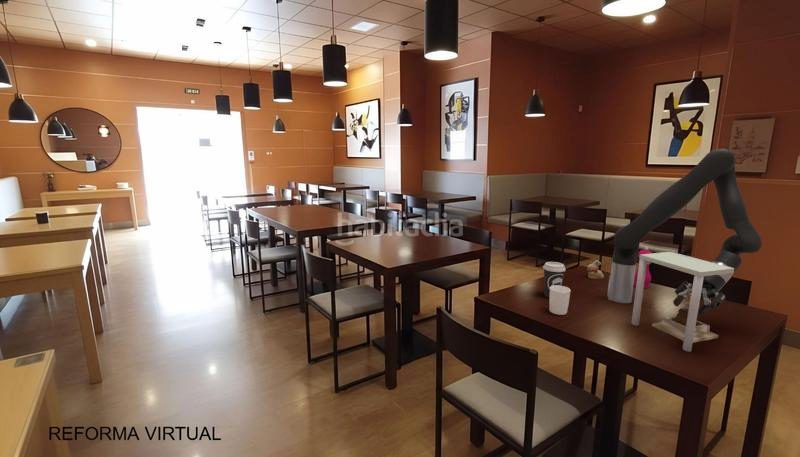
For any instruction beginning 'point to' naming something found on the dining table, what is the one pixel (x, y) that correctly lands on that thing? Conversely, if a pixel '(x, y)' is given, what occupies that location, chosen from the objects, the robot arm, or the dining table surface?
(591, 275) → the chocolate bunny
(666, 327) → the socket block
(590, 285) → the dining table surface
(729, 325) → the dining table surface
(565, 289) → the white cup
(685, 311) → the utensil holder
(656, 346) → the dining table surface
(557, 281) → the coffee cup
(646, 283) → the pepper mill
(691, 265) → the white bench
